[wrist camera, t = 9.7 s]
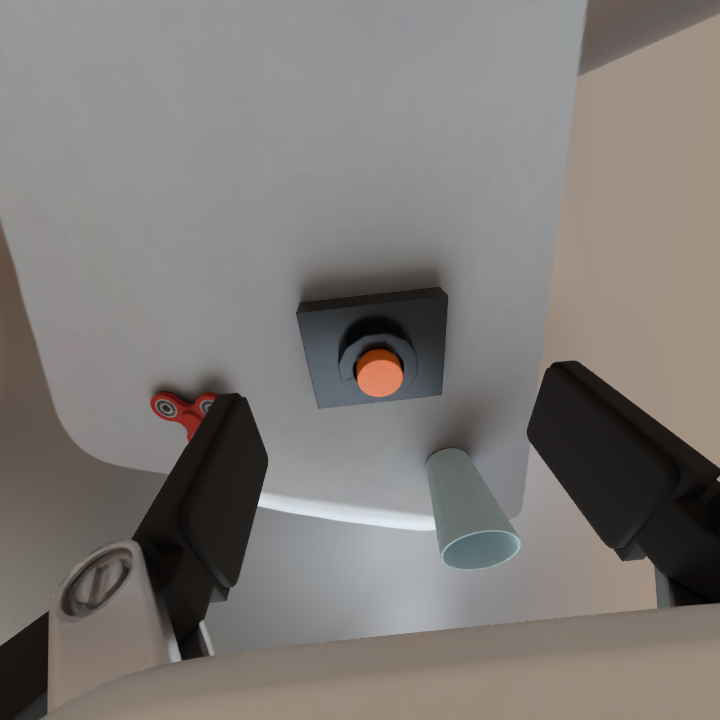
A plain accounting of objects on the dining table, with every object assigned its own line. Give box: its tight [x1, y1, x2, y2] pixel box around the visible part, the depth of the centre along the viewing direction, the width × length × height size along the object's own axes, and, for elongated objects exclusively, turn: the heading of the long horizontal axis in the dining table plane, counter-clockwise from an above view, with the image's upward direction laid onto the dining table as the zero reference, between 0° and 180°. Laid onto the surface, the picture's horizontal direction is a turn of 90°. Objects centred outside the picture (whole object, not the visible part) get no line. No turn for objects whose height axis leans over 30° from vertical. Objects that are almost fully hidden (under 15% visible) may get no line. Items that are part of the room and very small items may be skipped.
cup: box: [426, 448, 521, 570], centre depth 32 cm, size 8×8×10 cm
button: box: [357, 349, 403, 397], centre depth 23 cm, size 4×4×2 cm
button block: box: [296, 287, 448, 409], centre depth 25 cm, size 12×10×4 cm
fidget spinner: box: [151, 392, 219, 442], centre depth 29 cm, size 8×7×1 cm
